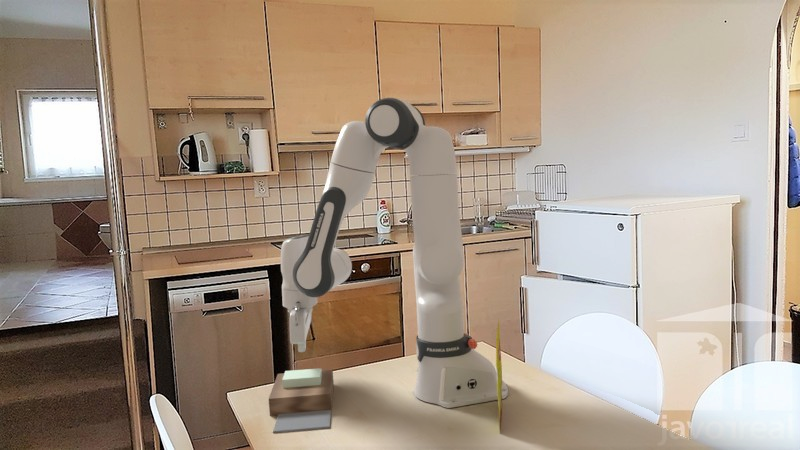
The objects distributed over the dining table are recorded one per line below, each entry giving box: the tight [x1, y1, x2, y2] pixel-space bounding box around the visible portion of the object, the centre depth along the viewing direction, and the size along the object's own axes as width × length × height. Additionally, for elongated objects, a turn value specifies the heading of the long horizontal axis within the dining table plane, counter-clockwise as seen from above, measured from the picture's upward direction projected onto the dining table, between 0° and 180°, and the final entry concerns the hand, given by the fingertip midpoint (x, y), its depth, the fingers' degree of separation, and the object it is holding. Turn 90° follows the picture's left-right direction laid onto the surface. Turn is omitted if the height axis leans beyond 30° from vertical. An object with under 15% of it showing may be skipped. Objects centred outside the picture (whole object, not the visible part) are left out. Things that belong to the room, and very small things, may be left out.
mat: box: [272, 409, 332, 434], centre depth 126 cm, size 12×8×1 cm
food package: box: [495, 319, 503, 431], centre depth 122 cm, size 15×1×20 cm, turn 168°
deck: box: [268, 369, 335, 417], centre depth 139 cm, size 14×16×4 cm
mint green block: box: [282, 367, 323, 388], centre depth 139 cm, size 9×6×2 cm, turn 95°
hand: (302, 350), depth 148 cm, fingers closed
